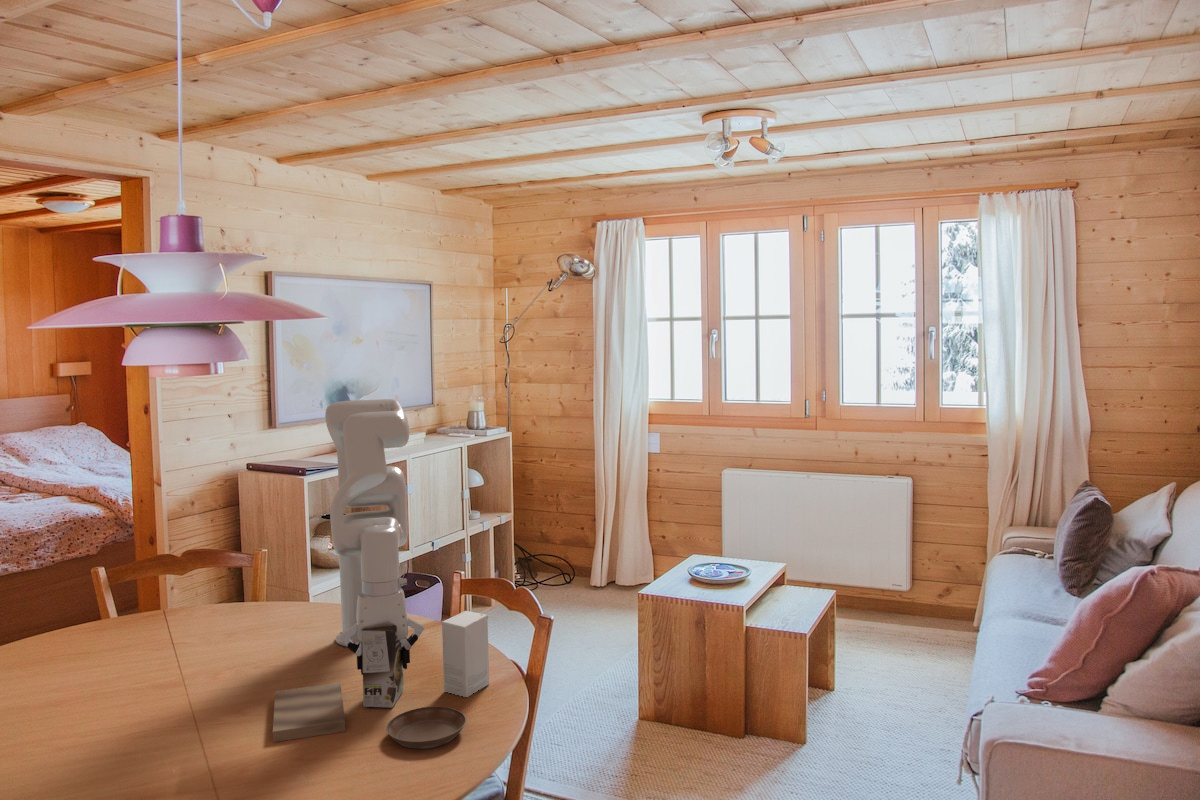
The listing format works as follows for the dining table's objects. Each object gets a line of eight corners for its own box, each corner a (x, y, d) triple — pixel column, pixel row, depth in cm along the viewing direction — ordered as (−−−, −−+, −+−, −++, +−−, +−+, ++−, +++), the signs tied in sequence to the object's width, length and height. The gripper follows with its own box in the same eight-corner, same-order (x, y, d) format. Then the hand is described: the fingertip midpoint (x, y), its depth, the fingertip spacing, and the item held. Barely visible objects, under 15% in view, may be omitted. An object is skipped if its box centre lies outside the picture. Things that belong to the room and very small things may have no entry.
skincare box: (467, 679, 197) (465, 609, 196) (491, 685, 194) (490, 614, 193) (442, 693, 190) (440, 620, 189) (466, 699, 187) (464, 625, 186)
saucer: (389, 760, 162) (388, 745, 161) (384, 725, 176) (384, 712, 176) (472, 747, 166) (471, 733, 166) (460, 715, 180) (460, 701, 180)
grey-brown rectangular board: (275, 700, 188) (275, 691, 188) (340, 691, 192) (340, 682, 192) (273, 742, 169) (272, 731, 169) (345, 731, 173) (345, 721, 173)
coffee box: (393, 708, 183) (392, 630, 181) (362, 707, 183) (360, 630, 181) (405, 689, 192) (403, 615, 190) (375, 688, 192) (373, 614, 190)
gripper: (421, 577, 191) (424, 657, 193) (335, 585, 186) (339, 668, 188) (426, 587, 184) (428, 670, 186) (337, 596, 179) (340, 682, 180)
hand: (383, 669), depth 187 cm, fingers closed on coffee box, 7 cm apart
